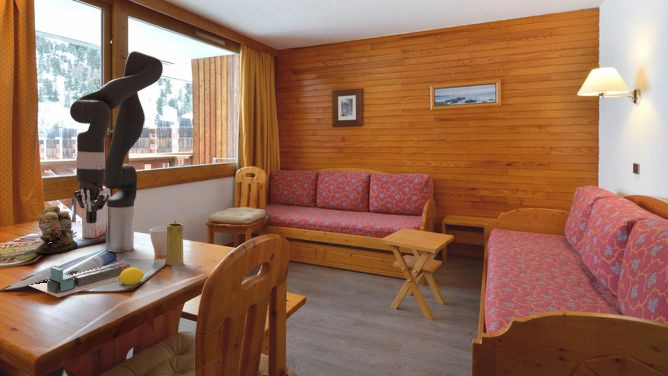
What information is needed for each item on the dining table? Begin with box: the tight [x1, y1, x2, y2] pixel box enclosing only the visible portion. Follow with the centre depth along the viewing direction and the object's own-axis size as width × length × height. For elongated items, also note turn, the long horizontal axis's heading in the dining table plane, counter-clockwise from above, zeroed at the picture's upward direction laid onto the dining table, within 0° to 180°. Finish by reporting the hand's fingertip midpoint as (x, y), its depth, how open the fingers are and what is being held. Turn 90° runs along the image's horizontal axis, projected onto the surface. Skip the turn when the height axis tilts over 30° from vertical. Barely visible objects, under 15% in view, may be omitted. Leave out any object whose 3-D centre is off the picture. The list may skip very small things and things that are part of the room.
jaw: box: [69, 261, 126, 279], centre depth 122 cm, size 16×2×3 cm, turn 152°
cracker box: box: [81, 185, 111, 239], centre depth 174 cm, size 14×6×21 cm, turn 5°
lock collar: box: [48, 266, 73, 291], centre depth 111 cm, size 3×6×6 cm, turn 62°
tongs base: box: [46, 263, 131, 294], centre depth 119 cm, size 22×4×3 cm, turn 152°
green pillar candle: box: [165, 222, 184, 266], centre depth 141 cm, size 6×6×14 cm
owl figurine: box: [35, 204, 79, 256], centre depth 149 cm, size 18×12×17 cm, turn 12°
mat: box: [28, 263, 120, 298], centre depth 121 cm, size 15×25×1 cm, turn 153°
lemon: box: [118, 267, 145, 286], centre depth 120 cm, size 7×5×5 cm
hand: (91, 222), depth 123 cm, fingers closed
